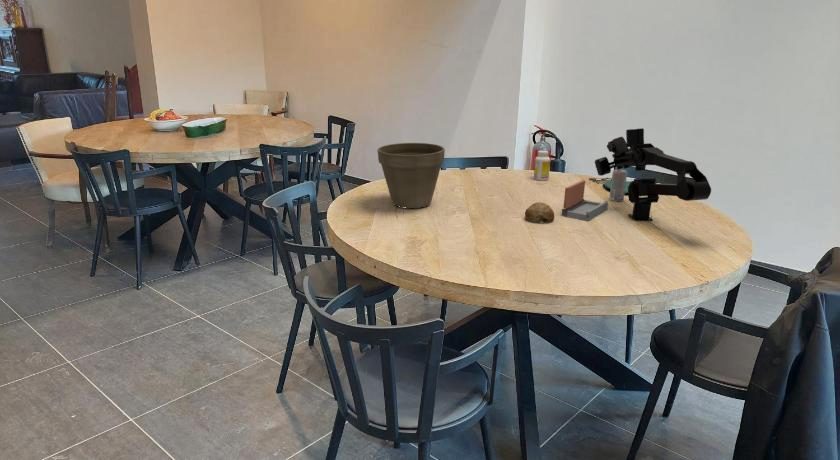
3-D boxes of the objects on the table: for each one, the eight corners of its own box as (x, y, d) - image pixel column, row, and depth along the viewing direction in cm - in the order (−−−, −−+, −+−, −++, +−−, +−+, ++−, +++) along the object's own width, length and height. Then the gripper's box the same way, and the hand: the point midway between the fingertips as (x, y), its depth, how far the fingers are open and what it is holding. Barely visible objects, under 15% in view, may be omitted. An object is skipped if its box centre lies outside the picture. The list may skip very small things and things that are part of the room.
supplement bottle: (550, 178, 255) (553, 151, 250) (545, 181, 249) (548, 153, 245) (536, 176, 258) (538, 149, 254) (531, 179, 253) (533, 151, 248)
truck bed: (607, 209, 208) (608, 201, 207) (588, 221, 195) (589, 212, 194) (586, 205, 213) (587, 197, 212) (566, 216, 200) (567, 208, 199)
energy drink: (621, 198, 223) (625, 169, 220) (624, 202, 218) (628, 172, 214) (607, 198, 224) (611, 168, 220) (610, 201, 219) (614, 171, 215)
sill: (587, 205, 213) (587, 199, 212) (566, 216, 199) (567, 210, 199) (581, 204, 214) (582, 198, 214) (561, 215, 201) (561, 208, 200)
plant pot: (369, 210, 205) (368, 152, 198) (389, 193, 227) (388, 140, 220) (435, 215, 199) (437, 156, 192) (448, 198, 222) (450, 144, 215)
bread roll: (528, 233, 193) (535, 216, 188) (518, 213, 200) (524, 196, 195) (554, 230, 196) (561, 214, 190) (543, 211, 203) (549, 194, 198)
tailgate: (583, 199, 212) (585, 180, 209) (566, 208, 201) (568, 188, 198) (579, 199, 213) (581, 180, 210) (562, 207, 201) (564, 187, 199)
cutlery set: (619, 197, 226) (619, 192, 225) (584, 181, 253) (584, 176, 253) (662, 196, 229) (663, 190, 229) (623, 180, 257) (624, 175, 257)
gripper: (646, 130, 202) (620, 136, 218) (603, 144, 198) (579, 149, 213) (654, 159, 204) (628, 163, 219) (611, 174, 199) (587, 177, 214)
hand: (606, 162), depth 216 cm, fingers open, 9 cm apart
